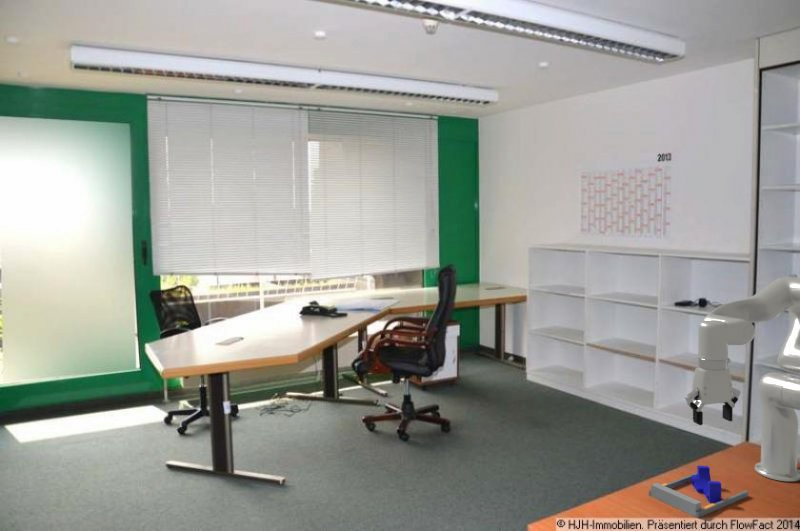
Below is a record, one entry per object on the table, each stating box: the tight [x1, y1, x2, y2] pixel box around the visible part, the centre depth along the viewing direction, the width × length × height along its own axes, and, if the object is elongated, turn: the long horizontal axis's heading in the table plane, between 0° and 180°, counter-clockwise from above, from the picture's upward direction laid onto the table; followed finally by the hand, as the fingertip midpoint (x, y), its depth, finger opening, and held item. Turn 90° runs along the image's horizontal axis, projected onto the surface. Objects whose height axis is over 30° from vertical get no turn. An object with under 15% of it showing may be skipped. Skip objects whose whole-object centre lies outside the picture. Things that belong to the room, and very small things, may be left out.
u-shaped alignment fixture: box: [648, 472, 749, 519], centre depth 174 cm, size 23×16×4 cm
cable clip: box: [691, 465, 722, 504], centre depth 175 cm, size 12×4×6 cm, turn 169°
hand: (712, 421), depth 173 cm, fingers open, 9 cm apart
